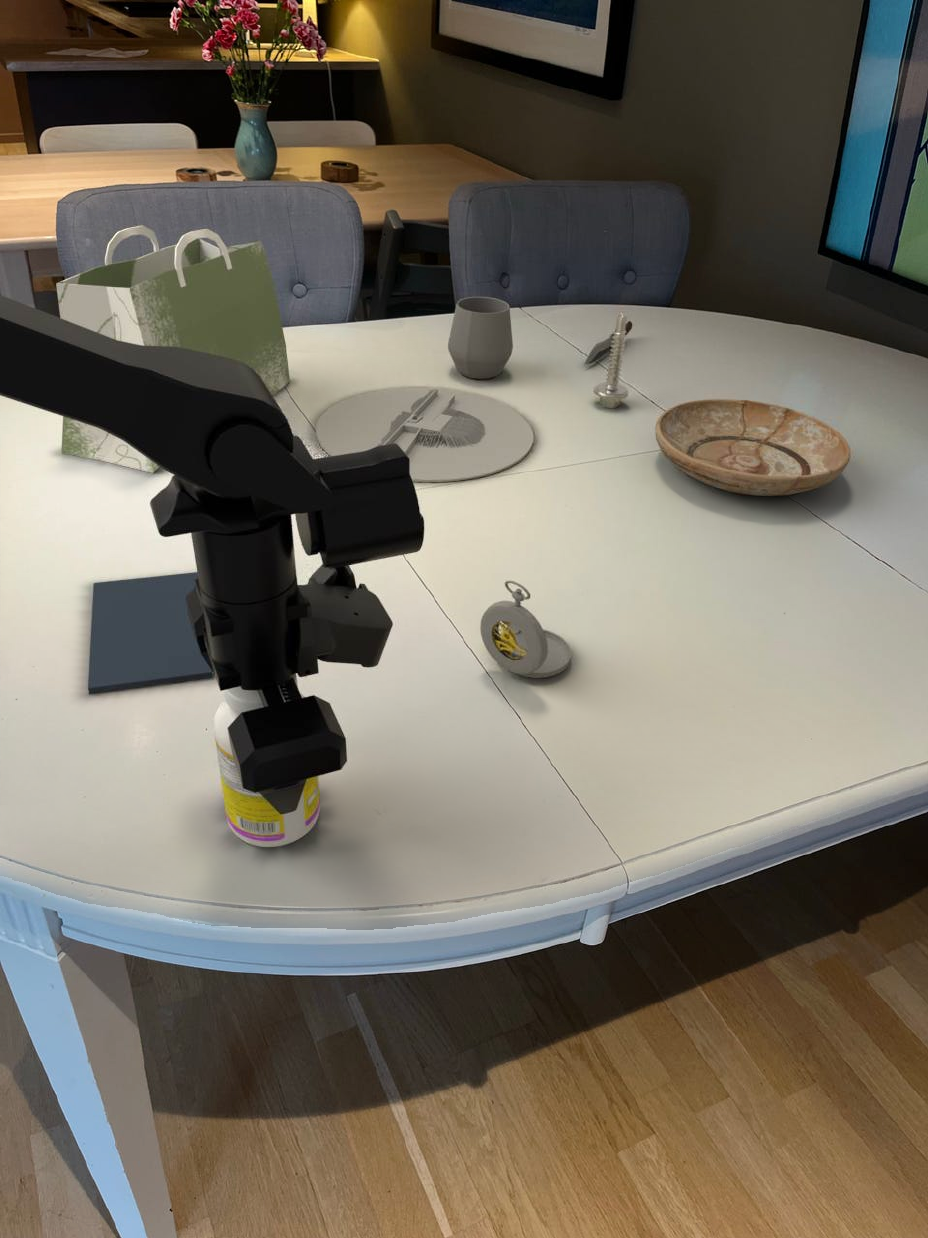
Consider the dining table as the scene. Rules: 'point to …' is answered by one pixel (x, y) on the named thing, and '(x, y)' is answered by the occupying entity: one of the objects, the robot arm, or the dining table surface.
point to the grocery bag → (177, 316)
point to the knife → (604, 346)
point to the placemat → (143, 634)
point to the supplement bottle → (252, 810)
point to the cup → (481, 337)
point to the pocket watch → (522, 639)
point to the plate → (430, 431)
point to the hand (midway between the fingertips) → (271, 765)
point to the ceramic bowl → (751, 446)
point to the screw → (614, 368)
